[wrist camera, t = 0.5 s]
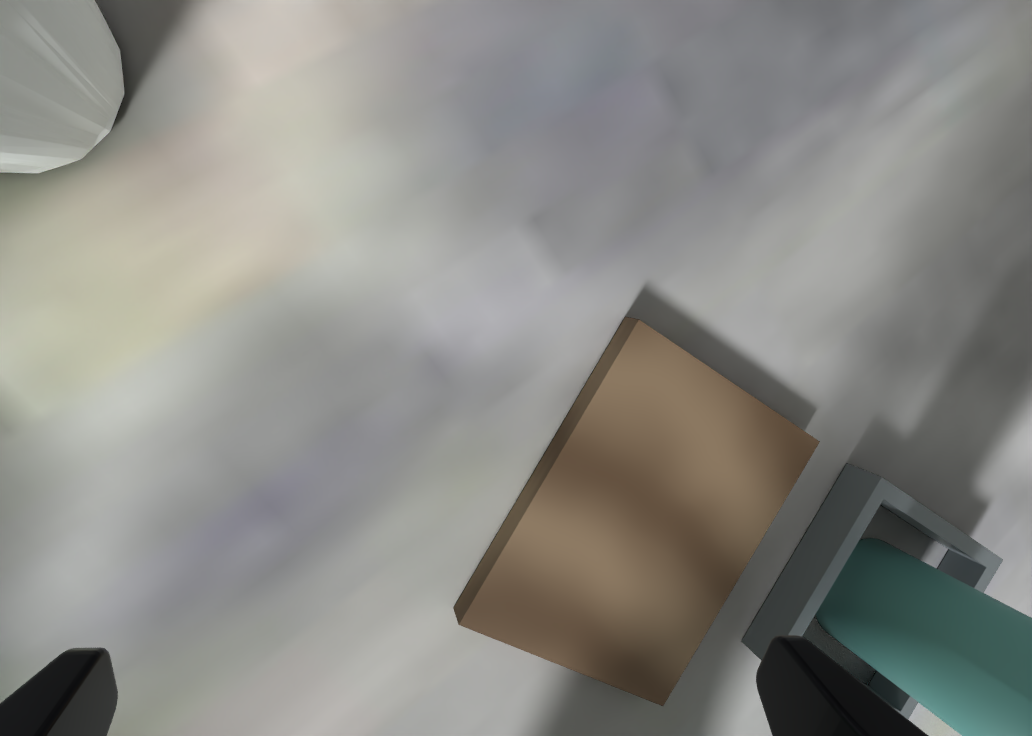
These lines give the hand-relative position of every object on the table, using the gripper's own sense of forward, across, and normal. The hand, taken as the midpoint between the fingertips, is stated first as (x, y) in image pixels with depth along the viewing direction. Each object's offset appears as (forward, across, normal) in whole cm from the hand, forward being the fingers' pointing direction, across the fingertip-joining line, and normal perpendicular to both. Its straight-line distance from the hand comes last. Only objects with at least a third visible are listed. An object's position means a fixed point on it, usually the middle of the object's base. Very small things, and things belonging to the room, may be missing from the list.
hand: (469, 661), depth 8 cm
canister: (+15, -23, +14) cm, 31 cm away
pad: (+14, -9, +9) cm, 20 cm away
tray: (+15, -23, +14) cm, 30 cm away
